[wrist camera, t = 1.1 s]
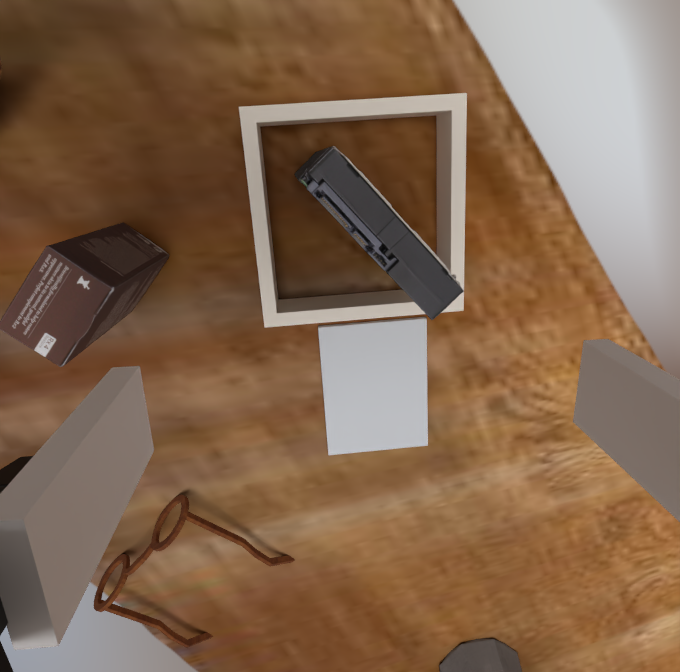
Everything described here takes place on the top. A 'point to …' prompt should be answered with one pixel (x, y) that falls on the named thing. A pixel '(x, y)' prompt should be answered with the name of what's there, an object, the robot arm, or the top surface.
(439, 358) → the top surface
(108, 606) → the glasses
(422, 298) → the disk drive
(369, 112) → the storage box
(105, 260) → the box
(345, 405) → the mat
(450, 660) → the coffeepot
